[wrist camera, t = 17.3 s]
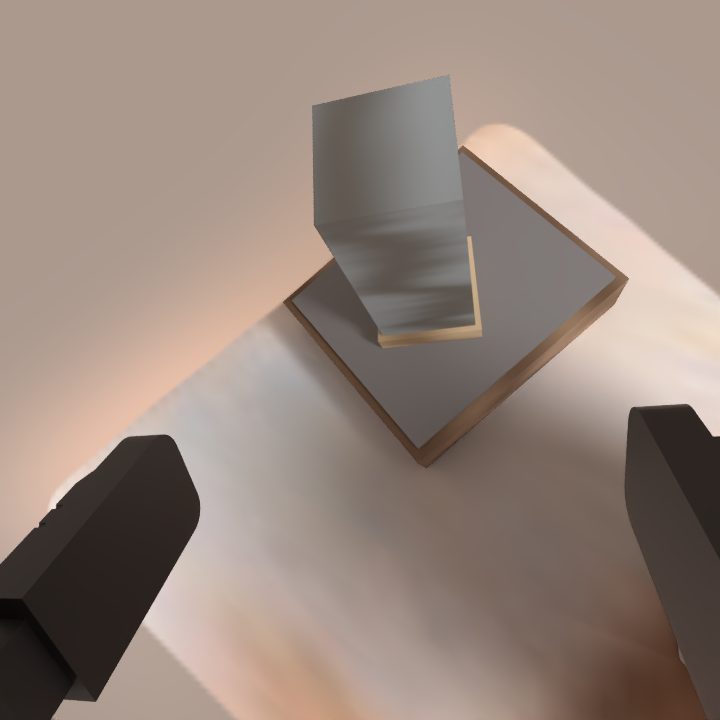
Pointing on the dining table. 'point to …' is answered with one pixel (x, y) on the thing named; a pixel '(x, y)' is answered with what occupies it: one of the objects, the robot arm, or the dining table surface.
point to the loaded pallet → (398, 210)
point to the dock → (497, 311)
